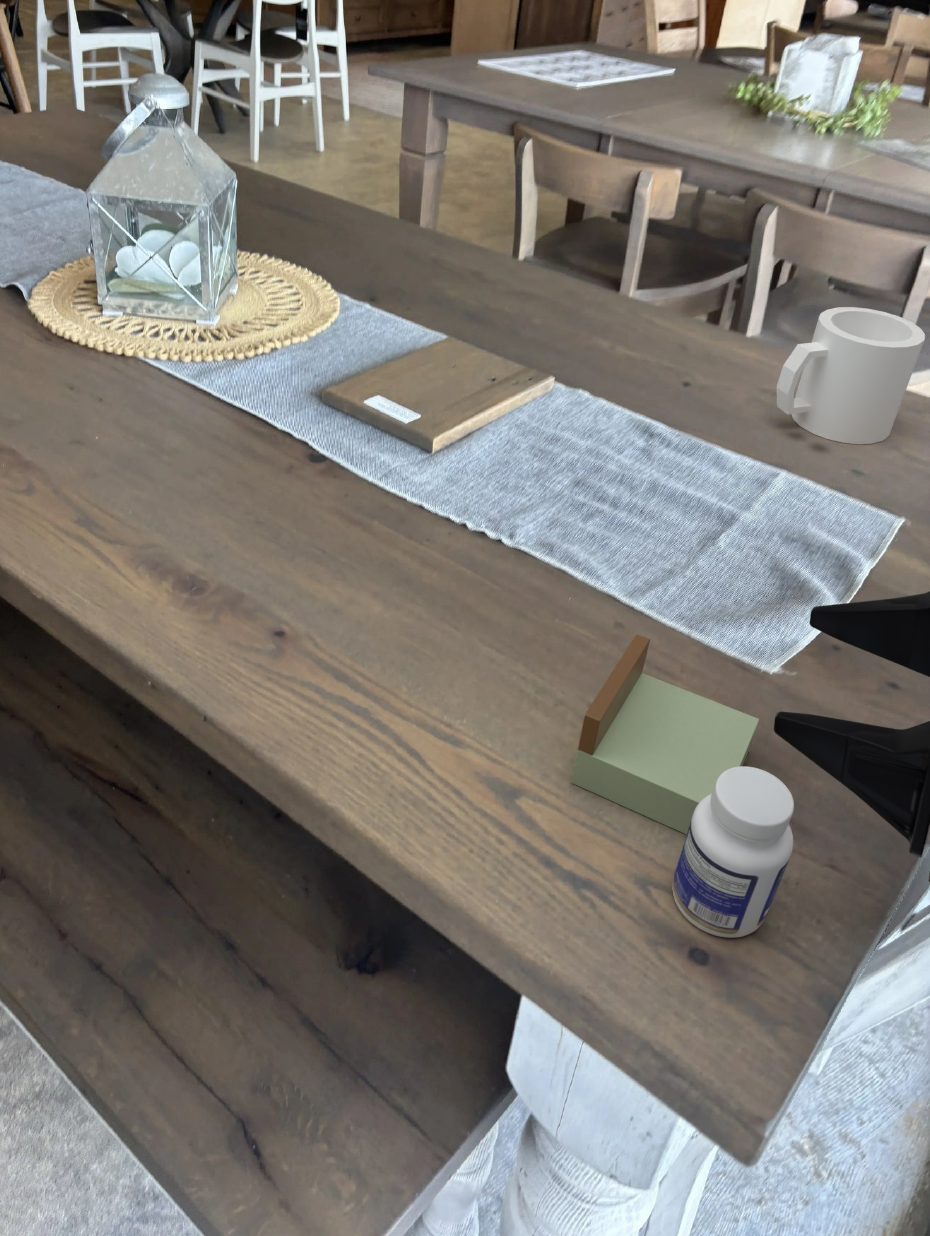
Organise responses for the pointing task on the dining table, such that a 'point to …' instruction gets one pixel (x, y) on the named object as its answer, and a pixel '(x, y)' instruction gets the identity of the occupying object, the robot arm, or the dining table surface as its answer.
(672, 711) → the low shelf
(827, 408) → the mug
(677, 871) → the pill bottle
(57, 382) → the dining table surface
